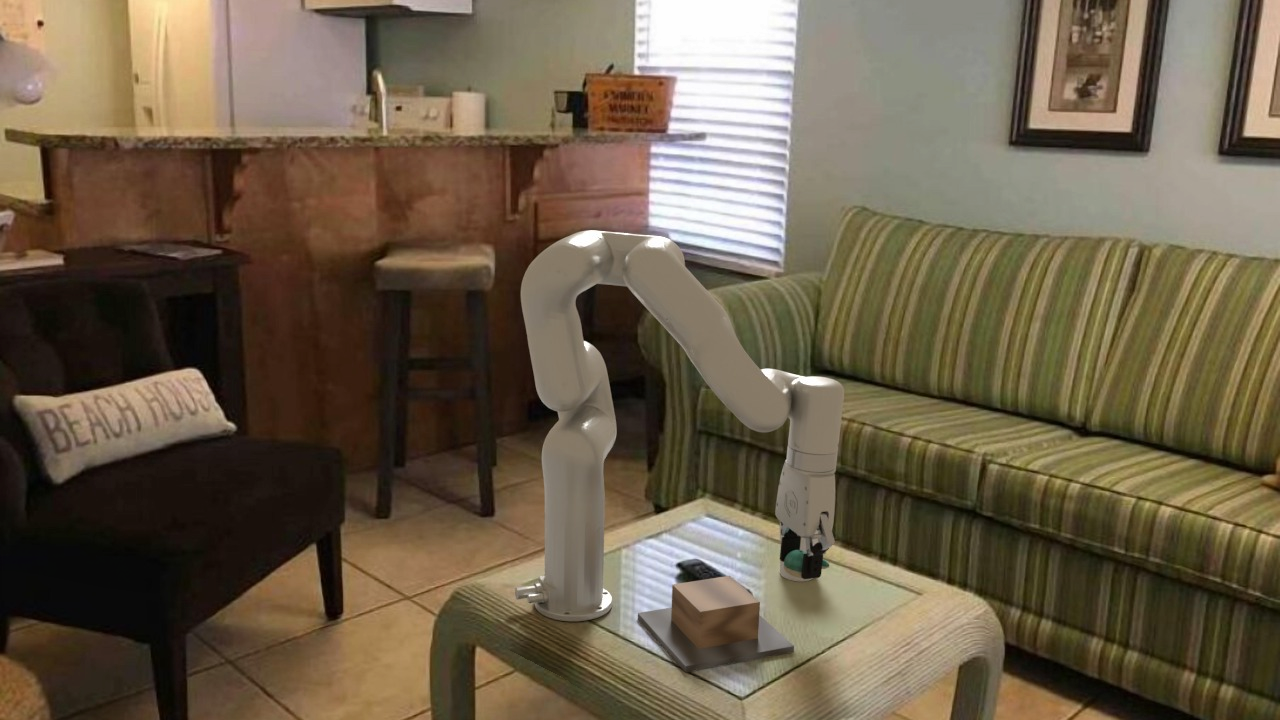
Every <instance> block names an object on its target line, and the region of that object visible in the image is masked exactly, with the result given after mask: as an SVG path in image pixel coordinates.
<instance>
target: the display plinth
mask: <svg viewBox="0 0 1280 720" xmlns="http://www.w3.org/2000/svg"><path fill="white" fill-rule="evenodd" d="M671 585H672V588H671V607H665V608H661V609H654V610H647V611H641V612H638V613H637V620H638V621H639V622H640V623H641V625H643V627H644V628H645V629H646V630H647V631H648V632H649V633H650V635H652V636H653V638H654V639H655V640H656V641H657V642H658V643H659V645H660V646H662V648H663V649H664V650H665V652H667V654H668V655H669V656H670V657H671V658H672V659H673V661H674V662H675V663H676V664H677V665H678V666H679V667H680V669H682V670H683V672H685V673H691V672H695V671H700V670H706V669H712V668H715V667H716V668H717V667H721V666H726V665H732V664H737V663H743V662H749V661H755V660H759V659H765V658H769V657H774V656H779V655H781V656H782V655H785V654H786V655H787V654H790V653H795V645H794V644H793V643H792V642H790V640H788V639H787V638H786V637H785V636H784V635H782V633H781V632H779V631H778V630H777V629H776V628H774V626H772V625H771V623H770V622H768V621H767V620H766V619H765V618H763V616H761V615H760V612H761V611H760V607H761V601H760V600H758V599H757V598H756V597H755V596H754V595H753V594H752V593H751V592H749V591H748V590H747V589H746V588H745V587H744V586H742V585H741V584H740V583H739V582H738V581H736V580H735V579H734V578H733V577H732V576H731V575H726V576H719V577H718V576H717V577H713V578H706V579H700V580H694V581H693V580H692V581H688V582H687V581H686V582H680V583H674V584H671Z"/></svg>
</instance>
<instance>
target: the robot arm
mask: <svg viewBox="0 0 1280 720" xmlns="http://www.w3.org/2000/svg"><path fill="white" fill-rule="evenodd" d="M685 261H686V259H685V257H684V253H683V251H682V249H681V248H680V246H678V245H677V243H675V242H674V241H673V240H671V239H669V238H667V237H664V236H658V235H649V234H647V235H646V234H636V233H634V234H633V233H626V232H625V233H624V232H613V231H604V230H603V231H602V230H590V229H589V230H582V231H577V232H575V233H573V234H571V235H569V236H566V237H564V238H561V239H559V240H557V241H555V242H554V243H553V244H551V245H549V246H548V247H547V248H545V249H544V250H543V251H542V252H540V253H539V254H538V255H537V256H536V257H535V258H534V259H533V260H532V261H531V262H530V264H529V265H528V267H527V268H526V270H525V273H524V275H523V278H522V281H521V284H520V285H521V286H520V303H521V310H522V315H523V320H524V326H525V331H526V335H527V337H526V339H527V344H528V349H529V355H530V362H531V366H532V371H533V377H534V384H535V388H536V389H535V390H536V392H537V395H538V397H539V399H540V400H541V402H542V403H543V405H545V406H546V407H547V408H548V409H550V410H551V411H555V412H557V416H558V421H557V422H556V423H555V424H554V425H553V427H551V429H550V430H549V431H548V433H547V435H546V436H545V438H544V442H543V445H542V449H541V450H542V451H541V467H542V475H543V485H544V486H543V487H544V488H543V489H544V575H539V577H538V582H534V583H533V585H528V586H527V585H525V586H517V587H515V588H514V594H515V595H514V596H515V598H516V600H523V599H526V600H527V603H528V604H534V607H535V609H536V610H537V612H538V613H540V614H541V615H542V616H544V617H547V618H549V619H551V620H552V619H553V620H556V621H563V622H585V621H591V620H594V619H598V618H600V617H602V616H604V615H606V614H607V613H608V612H610V610H611V609H612V606H613V597H612V594H611V593H610V592H609V591H608V590H607V589H605V588H604V563H605V562H604V557H605V554H604V553H605V504H606V503H605V500H606V499H605V497H606V496H605V494H606V493H605V483H604V482H605V481H604V464H605V463H604V462H605V459H606V457H608V454H609V453H610V451H611V450H612V448H613V447H614V444H615V442H616V438H617V421H616V419H617V418H616V413H615V408H614V401H613V398H612V397H613V396H612V391H611V386H610V380H609V375H608V369H607V366H606V363H605V360H604V358H603V356H602V354H601V352H600V351H599V350H598V349H597V348H596V347H595V346H594V345H593V344H591V343H590V342H588V341H586V340H584V336H583V335H584V334H583V329H582V323H581V318H580V315H579V311H578V309H577V306H576V305H577V304H576V302H577V301H576V300H577V297H578V296H579V295H580V294H581V293H583V292H586V291H587V290H588V289H590V288H592V287H594V286H595V285H608V286H609V285H611V286H617V287H618V286H620V287H627V288H628V290H629V291H630V292H631V293H632V294H633V295H634V297H635V298H636V299H638V301H639V302H640V303H641V305H643V306H644V307H645V308H646V310H647V311H649V313H650V314H651V315H652V316H653V317H654V318H655V319H656V320H657V321H658V323H660V324H661V326H662V327H663V328H664V329H665V330H666V331H667V332H668V334H670V336H672V337H673V339H674V340H675V341H676V342H677V343H678V344H679V345H680V346H681V348H682V349H683V351H685V354H686V355H687V357H688V358H689V360H690V362H691V363H692V365H693V366H694V367H695V369H696V370H697V371H698V373H699V374H700V375H701V377H702V379H703V380H704V381H705V383H706V384H707V385H708V387H709V389H710V390H711V391H712V392H713V393H714V394H715V396H716V397H717V399H719V400H720V402H722V404H724V406H725V407H726V408H727V409H728V410H729V411H730V412H731V413H732V414H733V415H734V416H735V417H736V418H737V419H738V420H739V422H740V423H742V424H743V425H745V426H746V427H747V428H748V429H750V430H752V431H755V432H758V433H770V432H773V431H774V432H775V430H778V429H780V428H782V426H783V425H784V424H785V423H786V421H787V419H789V431H788V441H787V442H788V443H787V448H786V449H787V450H786V459H785V461H784V464H783V466H782V470H781V474H780V479H779V483H778V489H777V495H776V500H775V501H776V502H775V511H774V513H775V516H776V518H777V520H778V521H779V524H780V523H781V526H782V528H781V531H780V530H779V533H780V532H781V535H782V536H784V537H782V541H781V542H780V550H781V551H780V553H779V561H780V560H781V561H782V562H784V560H785V558H786V556H787V555H788V554H789V553H790V552H791V551H794V550H800V543H801V537H802V538H805V541H806V553H807V554H804V555H803V564H802V573H801V577H802V578H803V579H812V578H813V579H818V578H820V577H821V576H822V571H823V569H822V562H823V559H824V555H826V554H827V551H828V550H829V549H830V548H831V547H833V546H834V545H835V543H836V540H835V538H834V534H833V526H834V520H835V513H836V512H835V509H836V508H835V507H836V474H835V473H836V471H837V461H838V453H839V443H840V435H841V426H842V425H841V424H842V417H843V408H844V399H845V389H844V386H843V384H842V383H840V382H839V381H837V380H836V379H833V378H830V377H824V376H815V375H814V376H812V375H811V376H810V375H809V376H804V375H799V374H794V373H790V372H788V371H783V370H779V369H775V368H762V369H761V368H760V367H759V366H758V365H757V364H756V363H755V362H754V361H753V360H752V358H751V357H750V356H749V355H748V353H747V352H746V351H745V349H744V347H743V345H742V344H741V343H740V341H739V339H738V337H737V335H736V333H735V329H734V328H733V325H732V322H731V319H730V316H729V315H728V313H727V312H726V310H725V308H724V307H723V306H722V305H721V304H720V303H719V302H718V300H716V299H715V298H714V297H713V296H712V293H710V292H709V291H708V289H706V287H705V286H704V285H703V284H701V282H700V281H699V279H697V278H696V276H695V275H693V273H692V272H691V271H690V270H689V269H688V268H687V267H686V262H685ZM816 530H817V531H818V534H815V532H816ZM815 538H818V543H816V544H815V545H814V546H813V541H812V539H815ZM813 579H812V580H813Z"/></svg>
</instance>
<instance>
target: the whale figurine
mask: <svg viewBox="0 0 1280 720" xmlns="http://www.w3.org/2000/svg"><path fill="white" fill-rule="evenodd" d="M804 554H807V553H806V552H804V551H802V550H794V551H791V552H790V553H789V554H788V555H787V556H786V558H785V560H784V569H785V571H786V572H787V573H788V574H790V575H792V576H794V577H797V578H802V577H801V573H802V564H803V555H804ZM828 568H830V563H829V562H828V561H827V560H826V559H824V558H823V562H822V570H825V569H826V570H827V569H828Z"/></svg>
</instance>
